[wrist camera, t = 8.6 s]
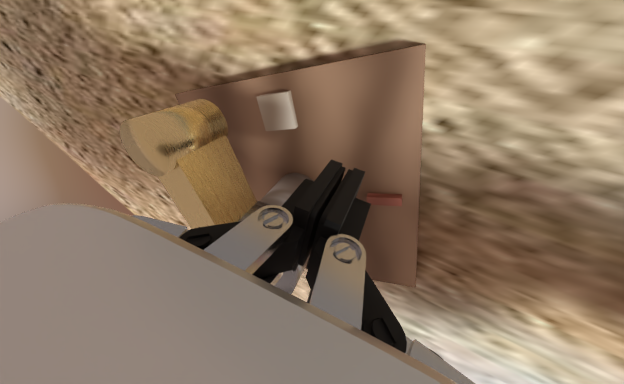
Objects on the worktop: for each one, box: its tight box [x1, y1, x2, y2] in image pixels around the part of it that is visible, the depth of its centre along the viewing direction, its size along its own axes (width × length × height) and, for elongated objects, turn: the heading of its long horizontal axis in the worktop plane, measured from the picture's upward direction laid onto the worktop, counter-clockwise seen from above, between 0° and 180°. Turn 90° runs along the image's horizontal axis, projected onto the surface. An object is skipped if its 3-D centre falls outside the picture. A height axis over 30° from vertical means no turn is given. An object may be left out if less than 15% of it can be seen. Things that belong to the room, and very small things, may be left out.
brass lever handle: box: [120, 99, 310, 294], centre depth 14 cm, size 13×7×4 cm, turn 19°
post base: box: [175, 44, 426, 287], centre depth 20 cm, size 20×20×7 cm
